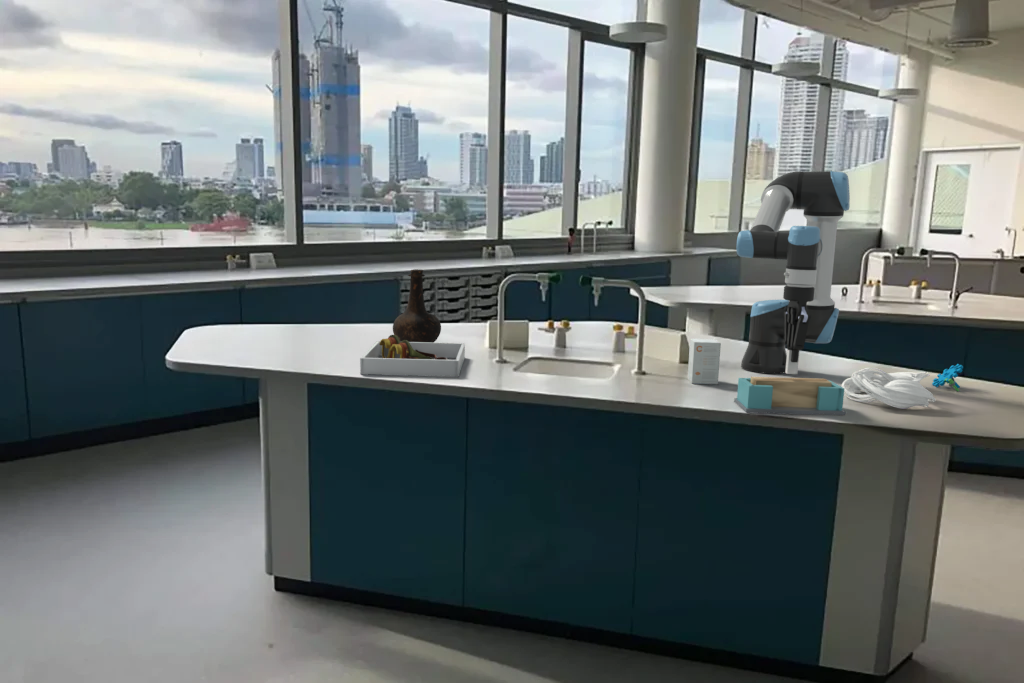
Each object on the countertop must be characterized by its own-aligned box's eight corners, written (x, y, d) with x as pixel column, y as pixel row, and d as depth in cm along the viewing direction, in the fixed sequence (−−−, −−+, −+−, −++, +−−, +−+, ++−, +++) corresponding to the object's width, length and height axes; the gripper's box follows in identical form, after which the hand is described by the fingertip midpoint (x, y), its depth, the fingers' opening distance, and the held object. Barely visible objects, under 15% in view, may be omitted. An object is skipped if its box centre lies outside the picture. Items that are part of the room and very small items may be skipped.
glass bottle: (419, 351, 267) (420, 272, 262) (382, 345, 277) (381, 269, 272) (450, 344, 282) (451, 269, 277) (414, 339, 291) (414, 266, 286)
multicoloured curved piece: (472, 367, 246) (472, 337, 244) (417, 378, 228) (417, 346, 226) (421, 356, 261) (421, 327, 260) (367, 365, 244) (366, 335, 242)
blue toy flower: (929, 377, 239) (958, 358, 234) (942, 391, 239) (971, 372, 234) (931, 389, 230) (962, 369, 225) (945, 403, 229) (976, 384, 224)
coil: (869, 389, 231) (871, 359, 229) (951, 405, 211) (954, 372, 210) (821, 401, 217) (823, 369, 215) (905, 419, 197) (908, 384, 196)
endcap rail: (734, 401, 209) (736, 377, 208) (827, 404, 209) (830, 379, 208) (746, 412, 198) (748, 386, 197) (844, 415, 198) (847, 389, 197)
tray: (377, 355, 259) (377, 341, 258) (464, 357, 259) (464, 343, 258) (360, 374, 231) (360, 358, 230) (458, 376, 231) (458, 360, 230)
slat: (748, 401, 206) (750, 376, 204) (822, 403, 206) (824, 378, 204) (753, 406, 201) (756, 380, 200) (829, 408, 201) (831, 382, 200)
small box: (712, 379, 235) (716, 338, 233) (718, 384, 229) (721, 342, 227) (686, 379, 235) (689, 338, 233) (691, 384, 229) (694, 341, 227)
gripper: (776, 282, 204) (769, 367, 208) (794, 287, 191) (785, 378, 195) (804, 283, 204) (796, 368, 208) (823, 288, 191) (814, 379, 195)
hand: (791, 373), depth 202 cm, fingers closed
